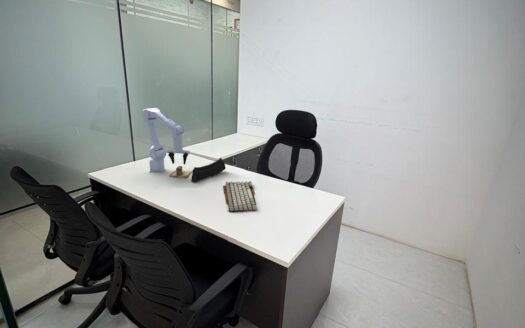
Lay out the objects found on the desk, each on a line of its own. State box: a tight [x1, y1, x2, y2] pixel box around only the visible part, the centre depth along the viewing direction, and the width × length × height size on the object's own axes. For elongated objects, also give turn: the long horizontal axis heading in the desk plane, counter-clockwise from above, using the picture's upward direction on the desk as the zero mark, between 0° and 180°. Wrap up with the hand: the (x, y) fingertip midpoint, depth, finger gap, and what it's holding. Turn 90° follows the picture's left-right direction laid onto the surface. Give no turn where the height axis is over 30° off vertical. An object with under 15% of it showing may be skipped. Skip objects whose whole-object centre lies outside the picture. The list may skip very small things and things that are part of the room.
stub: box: [168, 165, 192, 179], centre depth 179 cm, size 12×8×6 cm, turn 87°
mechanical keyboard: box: [222, 181, 258, 213], centre depth 154 cm, size 38×19×3 cm, turn 12°
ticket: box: [173, 166, 194, 174], centre depth 188 cm, size 12×9×1 cm
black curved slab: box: [190, 157, 227, 183], centre depth 179 cm, size 17×3×30 cm
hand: (179, 163), depth 176 cm, fingers open, 7 cm apart
